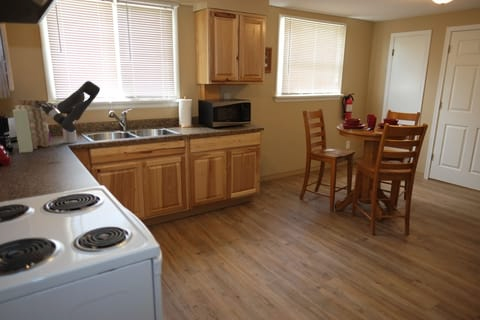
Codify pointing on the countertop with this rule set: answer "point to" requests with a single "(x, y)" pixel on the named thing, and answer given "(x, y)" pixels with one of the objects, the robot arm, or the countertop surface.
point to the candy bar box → (48, 131)
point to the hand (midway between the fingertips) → (39, 101)
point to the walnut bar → (32, 102)
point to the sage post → (23, 130)
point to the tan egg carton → (36, 125)
